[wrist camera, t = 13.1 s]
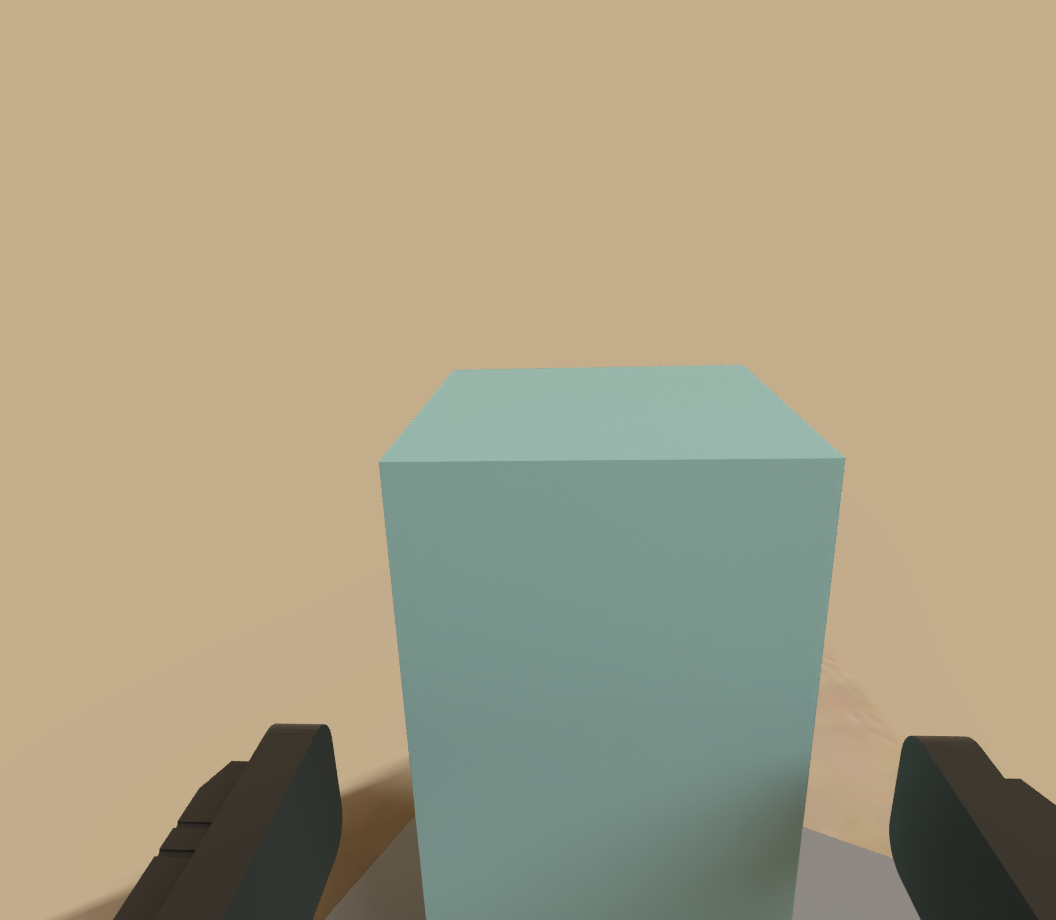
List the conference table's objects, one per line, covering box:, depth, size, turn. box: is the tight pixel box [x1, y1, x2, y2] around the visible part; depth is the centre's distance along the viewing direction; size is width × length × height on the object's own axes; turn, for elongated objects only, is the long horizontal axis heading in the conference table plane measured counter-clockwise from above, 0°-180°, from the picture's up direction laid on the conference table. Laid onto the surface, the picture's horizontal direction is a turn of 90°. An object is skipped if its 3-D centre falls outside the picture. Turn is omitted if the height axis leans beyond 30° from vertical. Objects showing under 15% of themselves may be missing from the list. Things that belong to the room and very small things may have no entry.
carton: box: [379, 365, 845, 920], centre depth 14 cm, size 6×6×14 cm
